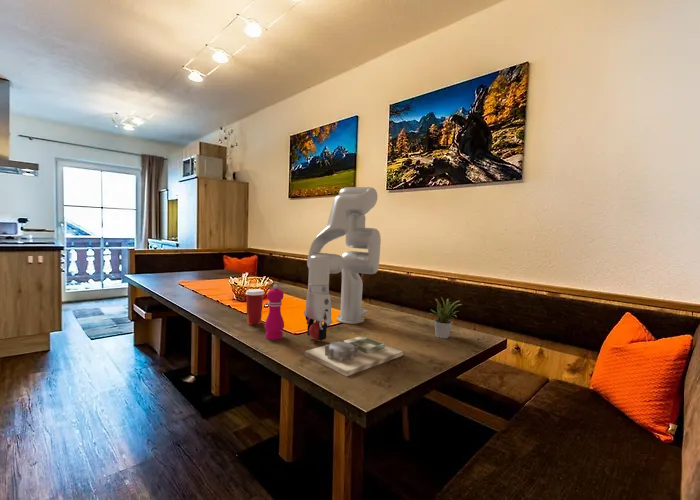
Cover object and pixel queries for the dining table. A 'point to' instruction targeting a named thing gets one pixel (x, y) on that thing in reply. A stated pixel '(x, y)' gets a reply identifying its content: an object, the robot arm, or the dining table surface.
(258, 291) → the paper cup
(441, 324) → the house plant
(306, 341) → the dining table surface
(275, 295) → the pepper mill
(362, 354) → the gear board
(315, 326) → the onion
